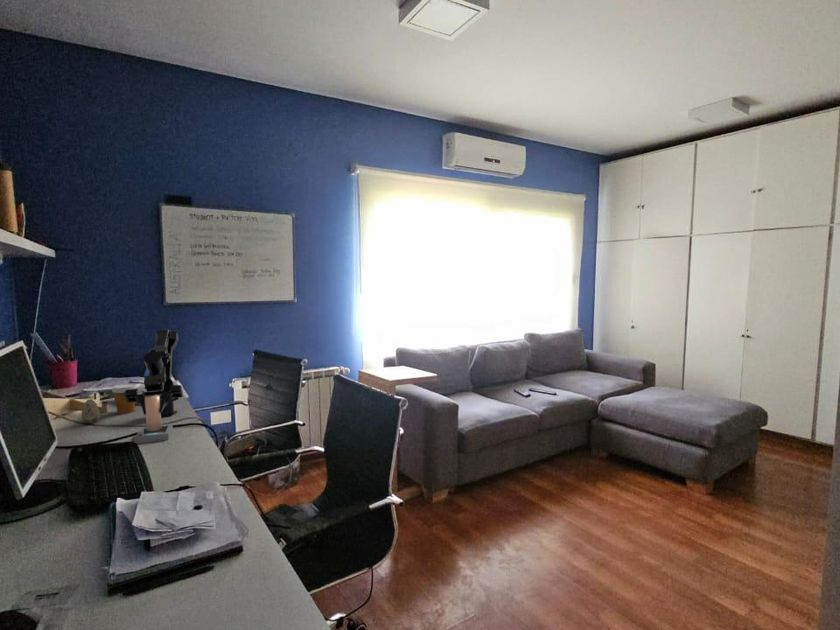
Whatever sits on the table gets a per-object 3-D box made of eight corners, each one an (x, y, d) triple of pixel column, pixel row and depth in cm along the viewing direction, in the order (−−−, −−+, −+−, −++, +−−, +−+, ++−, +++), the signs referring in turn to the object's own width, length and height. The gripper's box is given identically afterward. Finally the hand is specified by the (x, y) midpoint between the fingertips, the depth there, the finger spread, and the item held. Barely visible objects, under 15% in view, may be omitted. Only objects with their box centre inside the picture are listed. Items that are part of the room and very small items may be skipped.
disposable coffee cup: (141, 411, 190) (139, 385, 189) (116, 416, 183) (114, 389, 182) (135, 407, 197) (134, 381, 196) (110, 411, 190) (109, 385, 189)
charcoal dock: (141, 433, 163) (140, 427, 163) (172, 430, 167) (172, 423, 167) (134, 443, 153) (134, 436, 153) (168, 439, 158) (168, 432, 157)
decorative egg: (95, 419, 179) (93, 396, 178) (103, 421, 177) (101, 398, 176) (79, 424, 174) (77, 400, 173) (87, 426, 171) (85, 402, 171)
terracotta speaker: (145, 428, 160) (143, 396, 159) (159, 425, 164) (157, 394, 162) (148, 432, 157) (146, 399, 156) (163, 428, 160) (161, 396, 159)
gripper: (123, 368, 158) (117, 405, 149) (180, 364, 165) (178, 399, 156) (130, 384, 166) (124, 420, 157) (183, 379, 173) (181, 413, 164)
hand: (152, 413), depth 158 cm, fingers closed on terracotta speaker, 5 cm apart
